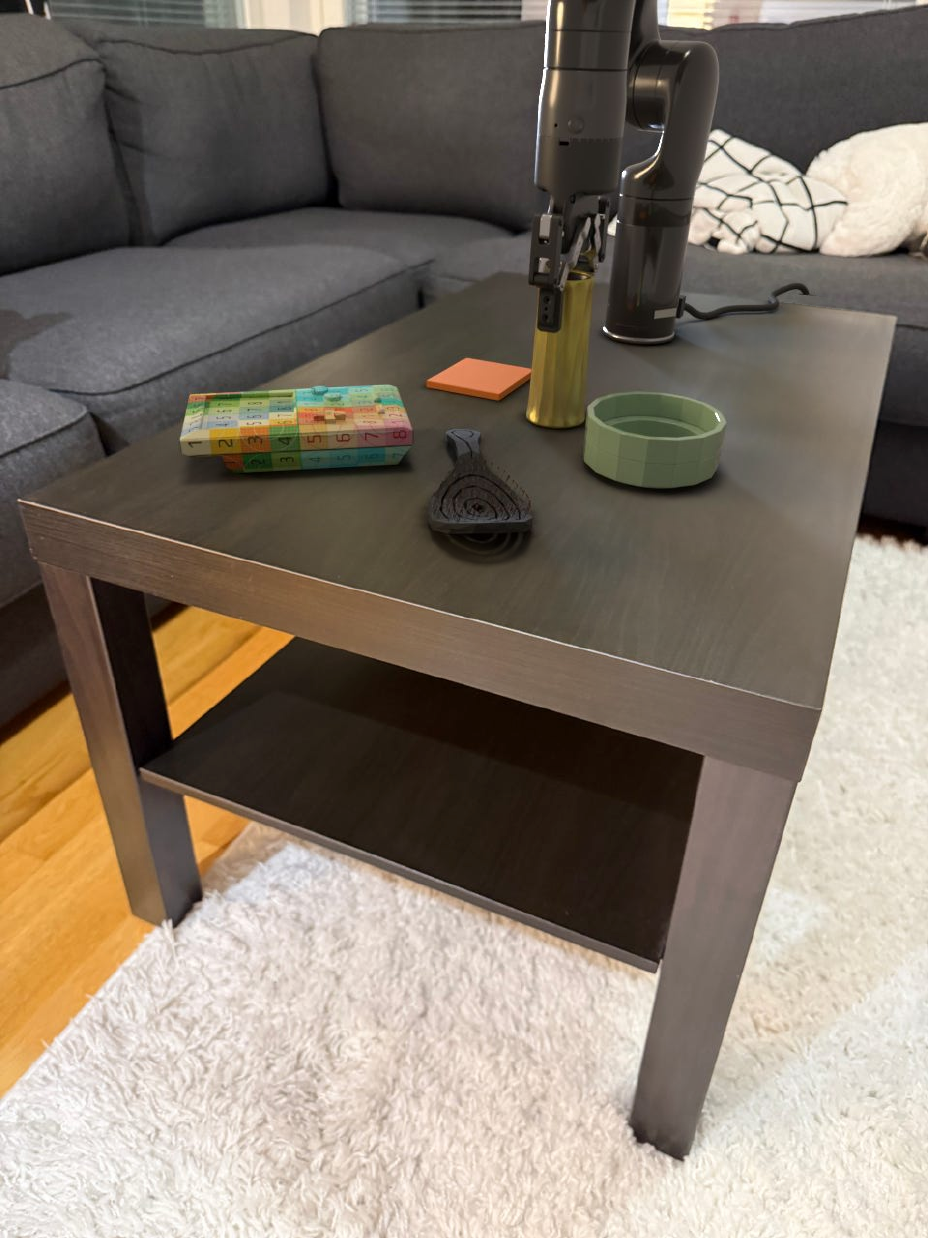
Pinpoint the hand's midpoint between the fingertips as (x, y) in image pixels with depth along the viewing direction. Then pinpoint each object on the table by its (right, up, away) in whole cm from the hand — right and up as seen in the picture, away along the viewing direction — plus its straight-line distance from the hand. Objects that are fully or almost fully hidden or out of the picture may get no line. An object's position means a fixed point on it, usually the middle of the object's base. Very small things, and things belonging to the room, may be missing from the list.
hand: (564, 320), depth 85 cm
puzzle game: (-25, -13, -3) cm, 29 cm away
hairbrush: (-9, -18, -9) cm, 22 cm away
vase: (0, -8, +6) cm, 10 cm away
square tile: (-8, -2, +15) cm, 17 cm away
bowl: (+7, -15, -4) cm, 17 cm away
